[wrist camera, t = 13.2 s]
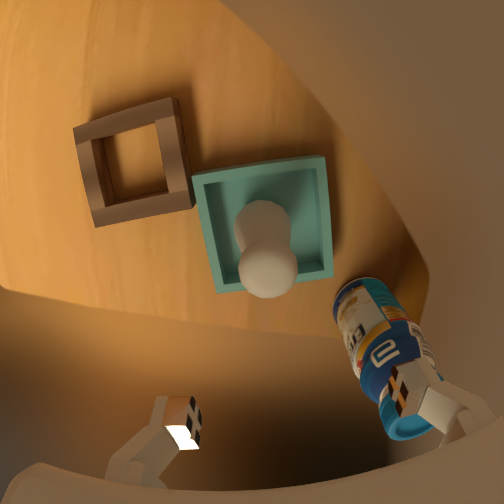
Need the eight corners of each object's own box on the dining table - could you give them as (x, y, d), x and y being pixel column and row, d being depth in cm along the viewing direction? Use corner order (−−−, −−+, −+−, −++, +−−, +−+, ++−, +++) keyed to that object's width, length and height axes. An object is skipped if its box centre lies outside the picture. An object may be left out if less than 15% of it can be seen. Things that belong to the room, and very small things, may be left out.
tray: (197, 171, 32) (191, 176, 28) (317, 154, 31) (324, 157, 28) (219, 279, 37) (216, 293, 33) (326, 263, 36) (333, 276, 33)
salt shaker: (223, 215, 32) (209, 267, 20) (267, 184, 31) (279, 219, 19) (255, 256, 34) (259, 324, 22) (298, 227, 33) (325, 284, 21)
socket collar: (85, 127, 29) (72, 128, 26) (178, 99, 29) (171, 96, 26) (106, 220, 33) (95, 227, 31) (196, 201, 33) (192, 208, 30)
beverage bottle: (389, 318, 39) (453, 425, 21) (334, 335, 40) (376, 456, 22) (387, 266, 36) (472, 371, 18) (325, 284, 37) (380, 410, 18)
